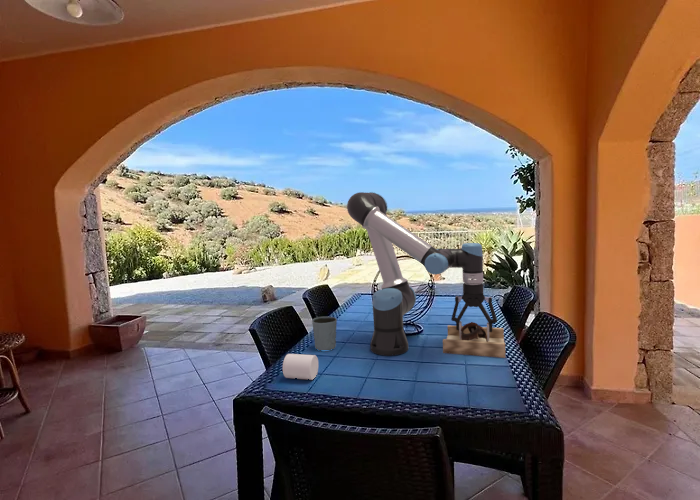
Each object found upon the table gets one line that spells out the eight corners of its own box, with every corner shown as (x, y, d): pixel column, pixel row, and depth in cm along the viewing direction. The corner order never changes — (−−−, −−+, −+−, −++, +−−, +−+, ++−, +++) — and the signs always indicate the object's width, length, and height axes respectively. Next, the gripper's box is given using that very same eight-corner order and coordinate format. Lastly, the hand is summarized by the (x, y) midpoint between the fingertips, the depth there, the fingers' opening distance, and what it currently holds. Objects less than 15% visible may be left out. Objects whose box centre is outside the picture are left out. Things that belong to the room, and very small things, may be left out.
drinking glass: (308, 348, 156) (306, 320, 155) (326, 341, 164) (324, 314, 162) (325, 354, 149) (323, 324, 148) (343, 346, 157) (341, 318, 156)
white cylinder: (310, 384, 124) (309, 360, 123) (283, 381, 127) (281, 359, 126) (323, 368, 136) (321, 347, 135) (297, 367, 138) (296, 346, 138)
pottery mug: (492, 346, 143) (483, 329, 141) (469, 355, 146) (460, 339, 143) (484, 328, 154) (475, 313, 152) (463, 337, 157) (454, 322, 154)
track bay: (443, 353, 144) (442, 340, 143) (448, 336, 162) (447, 325, 161) (505, 357, 136) (505, 344, 136) (503, 340, 154) (503, 328, 153)
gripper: (442, 284, 147) (444, 340, 149) (504, 285, 139) (505, 344, 141) (444, 280, 154) (446, 334, 156) (503, 281, 146) (504, 337, 148)
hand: (474, 338), depth 149 cm, fingers closed on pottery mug, 10 cm apart
